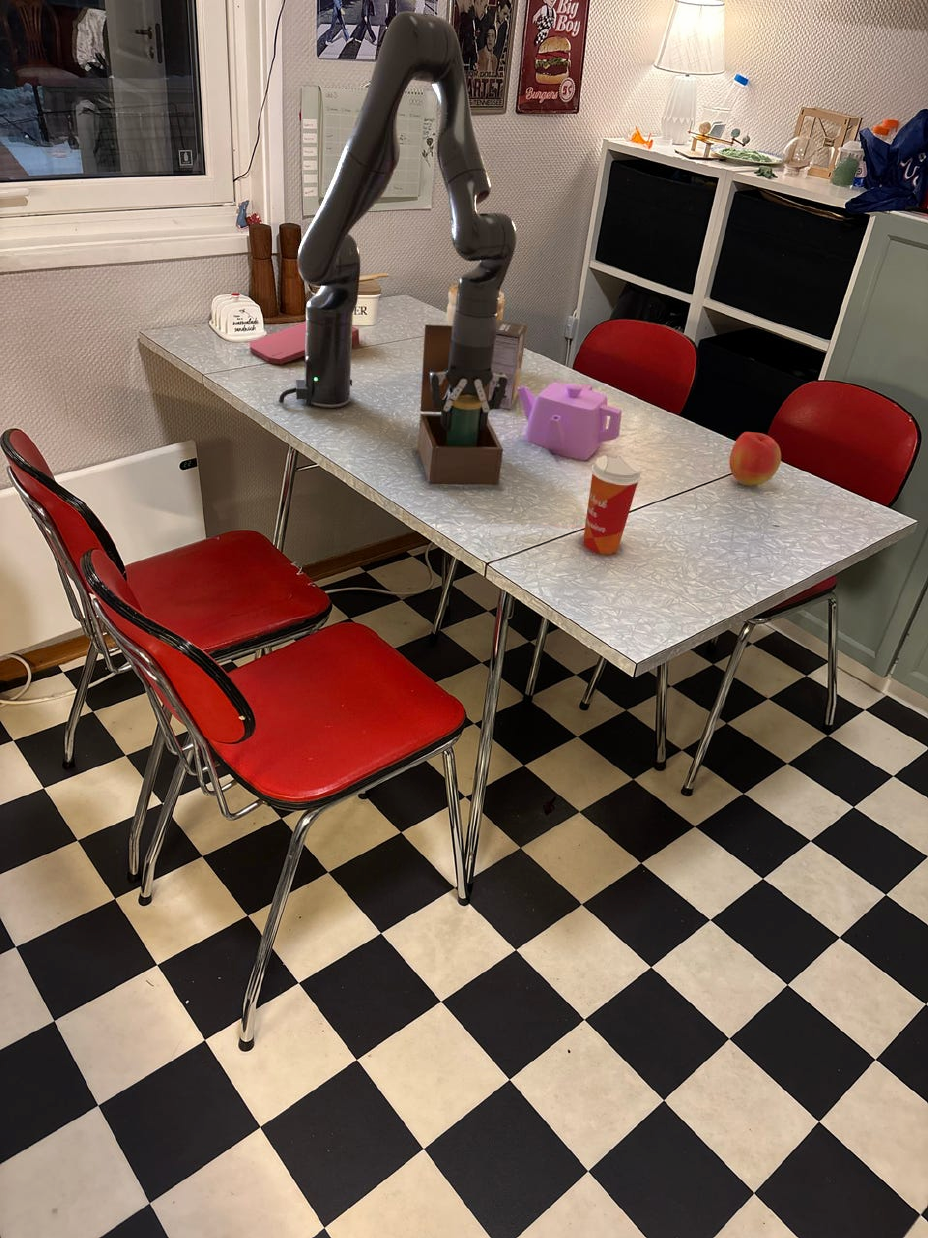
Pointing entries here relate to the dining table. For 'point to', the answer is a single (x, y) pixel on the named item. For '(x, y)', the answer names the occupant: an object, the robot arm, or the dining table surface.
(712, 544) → the dining table surface
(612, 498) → the coffee cup
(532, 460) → the dining table surface
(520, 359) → the coffee box
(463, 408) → the tea tin
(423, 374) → the chest lid
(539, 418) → the teakettle
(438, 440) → the chest
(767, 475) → the apple
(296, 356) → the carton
